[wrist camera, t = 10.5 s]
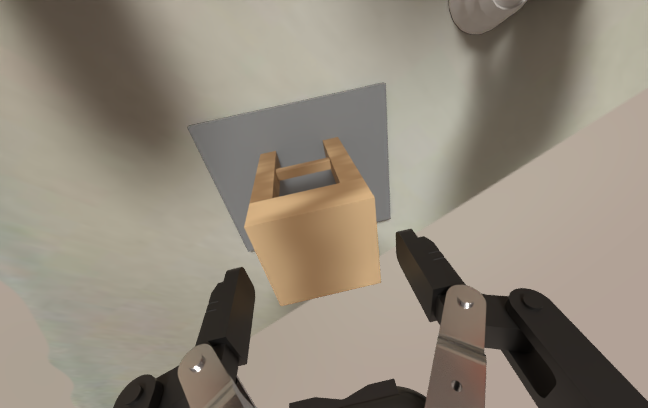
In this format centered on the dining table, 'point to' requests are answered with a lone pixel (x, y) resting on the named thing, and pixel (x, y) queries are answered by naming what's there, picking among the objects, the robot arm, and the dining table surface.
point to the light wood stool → (314, 228)
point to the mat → (298, 146)
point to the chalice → (482, 13)
